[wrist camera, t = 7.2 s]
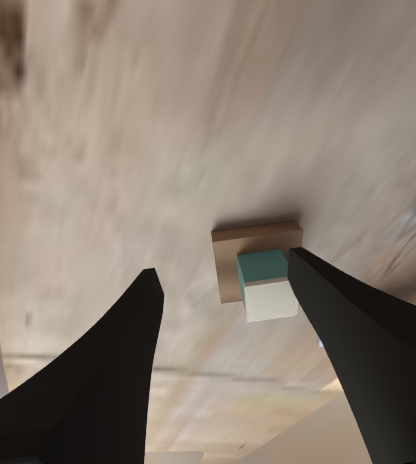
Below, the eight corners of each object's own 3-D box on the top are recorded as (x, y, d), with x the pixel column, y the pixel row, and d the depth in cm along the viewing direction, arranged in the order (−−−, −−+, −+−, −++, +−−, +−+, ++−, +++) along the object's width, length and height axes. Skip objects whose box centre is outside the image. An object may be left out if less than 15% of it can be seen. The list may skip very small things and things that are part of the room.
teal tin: (279, 281, 23) (296, 315, 19) (238, 287, 23) (247, 322, 19) (280, 248, 21) (300, 279, 17) (235, 254, 21) (244, 287, 17)
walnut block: (287, 280, 26) (295, 294, 24) (219, 288, 27) (221, 303, 25) (292, 219, 22) (302, 229, 20) (210, 230, 22) (212, 242, 20)
